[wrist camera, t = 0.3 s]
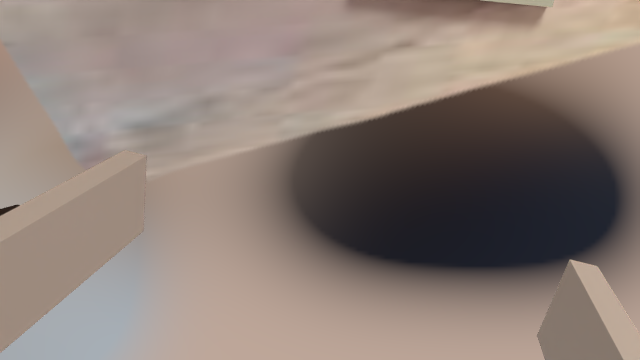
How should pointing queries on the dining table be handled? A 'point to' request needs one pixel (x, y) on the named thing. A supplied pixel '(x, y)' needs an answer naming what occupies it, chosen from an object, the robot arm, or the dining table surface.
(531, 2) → the tray
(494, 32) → the dining table surface
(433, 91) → the dining table surface
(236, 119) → the dining table surface
